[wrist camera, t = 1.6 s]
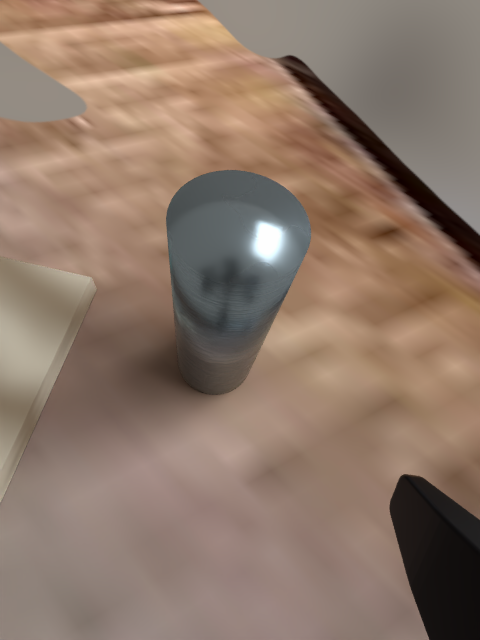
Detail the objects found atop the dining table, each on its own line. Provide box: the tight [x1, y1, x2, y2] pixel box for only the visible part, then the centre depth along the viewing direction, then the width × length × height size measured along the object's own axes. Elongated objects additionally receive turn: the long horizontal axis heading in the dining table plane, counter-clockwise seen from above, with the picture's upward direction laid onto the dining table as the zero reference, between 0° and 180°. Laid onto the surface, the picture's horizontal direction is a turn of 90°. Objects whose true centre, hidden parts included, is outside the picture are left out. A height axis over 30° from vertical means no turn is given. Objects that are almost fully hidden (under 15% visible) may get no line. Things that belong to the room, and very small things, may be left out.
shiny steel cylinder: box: [166, 170, 311, 395], centre depth 17 cm, size 5×5×13 cm
